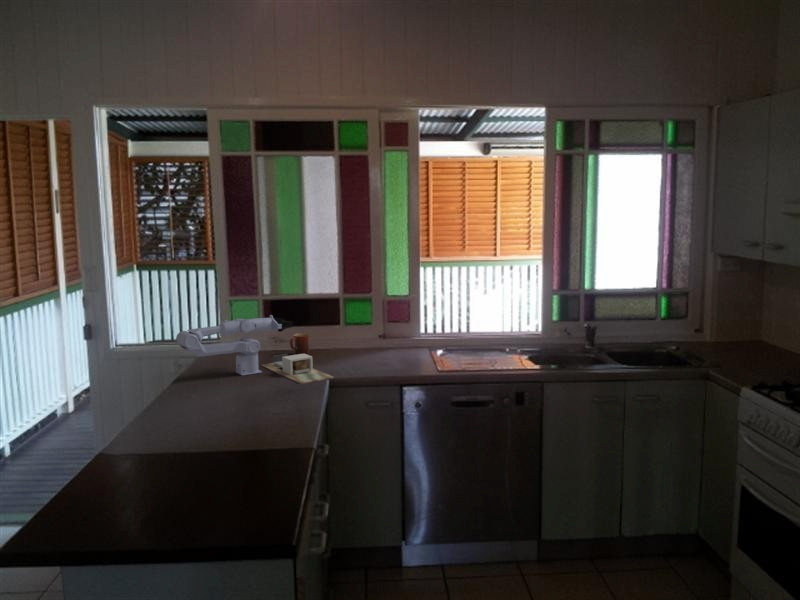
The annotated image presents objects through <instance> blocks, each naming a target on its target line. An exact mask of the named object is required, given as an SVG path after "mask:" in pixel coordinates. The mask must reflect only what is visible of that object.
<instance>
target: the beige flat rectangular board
mask: <svg viewBox="0 0 800 600" xmlns="http://www.w3.org/2000/svg"><path fill="white" fill-rule="evenodd" d="M261 367H263V368H265V369H267V370H269V371H271V372H274V373H275V374H278V375H279V376H282V377H284V378H286V379H289V380H290V381H293V382H295V383H297V384H299V385H303V384H308V383H315V382H319V381H320V382H321V381H324V380H325V381H326V380H331V379H334V376H333V375H330V374H328V373H325V372H323V371H320V370H318V369H316V368H313V371H310V372H304V373H298V374H295V373H293V375H290V374H287V373H285V372H283V368H281V367H279V366H277V365H275V364H273V362H272V363H266V364H261Z"/></svg>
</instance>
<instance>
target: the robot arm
mask: <svg viewBox="0 0 800 600" xmlns="http://www.w3.org/2000/svg"><path fill="white" fill-rule="evenodd" d="M293 324H294V322H293V321H289V320H286V319H285V318H280V317H274V316H273V315H272V314H269V315H268V317H258V318H257V317H256V318H247V319H245V318H235V319H234V320H227V319H225V320H223V321H222V322H220V323H219V324H218V325H215V326H214V325H213V326H205V327H197V328H192V329H191V328H190V329H187V330H182V331H180V332H178V333H177V335H176V337H175V340H176V343H177V344H178V346H180V348H182V349H183V350H185V351H187V352H189V353H190V354H192V355H194V356H197V357H199V358H201V357H207V356H208V357H209V356H217V355H225V354H233V353H240V354H236V357H235V373H237V374H238V375H241V376H249V375H254V374H261V373H263V371H262V370H261V369H259V351H260V349H261V343H260V342H259V340H257V339H254V338H250V337H249V336H243V337H241V338H239V339H236V340H233V341H226V342H225V341H223V342H215V343H208V344H207V343H206V344H202V343H201V342H202V340H203V339H204V338H205V337H209V336H212V335H213V336H214V335H217V334H221V335H222V336H226V335H227V336H228V335H233V334H238V333H244V334H247V333H250V332H262V331H264V332H265V331H274V330H277V331H278V332H280V333H281V332H284V331H285V330H287V329H289V328H292V327H293V326H294V325H293Z"/></svg>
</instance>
